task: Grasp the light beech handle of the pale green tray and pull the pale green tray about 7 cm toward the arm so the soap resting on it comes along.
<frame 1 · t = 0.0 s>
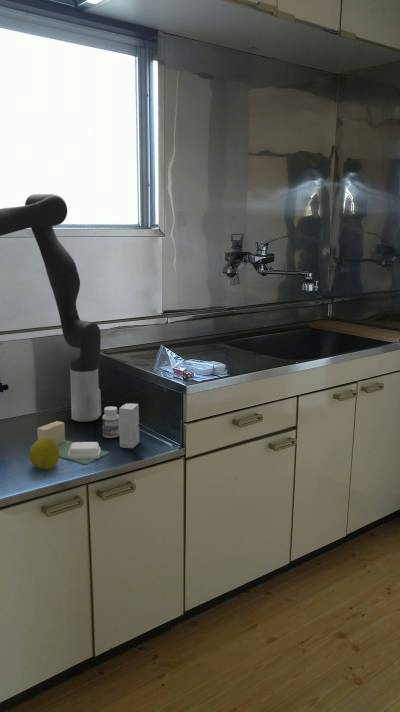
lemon: (45, 468, 162), on the counter
skincare box: (129, 445, 180), on the counter
soap: (84, 454, 171), resting on pale green tray
pill bottle: (111, 435, 187), on the counter
pale green tray: (71, 441, 173), point 3 cm above the counter, slide at 0.0 cm, touching soap
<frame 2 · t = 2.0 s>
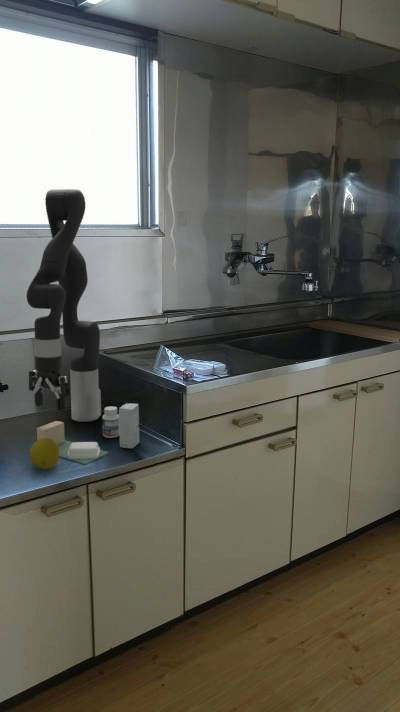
hand: (49, 407, 175), 12 cm above the counter, fingers open, 8 cm apart
nothing on the counter moved.
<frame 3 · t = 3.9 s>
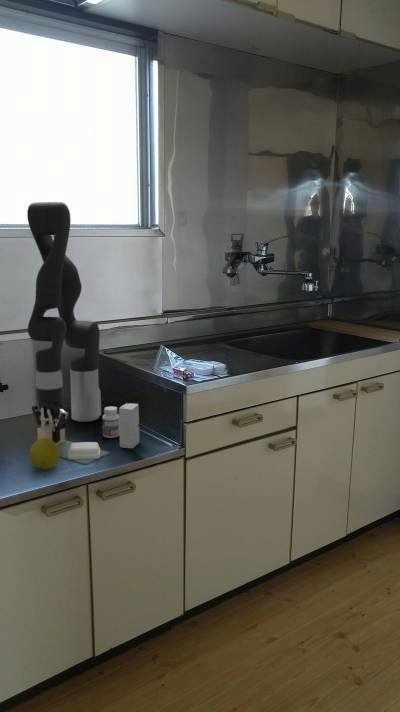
hand: (51, 440, 177), 2 cm above the counter, fingers closed on pale green tray, 3 cm apart
pale green tray: (71, 441, 173), point 3 cm above the counter, slide at 0.0 cm, touching gripper, soap
everything else where it was.
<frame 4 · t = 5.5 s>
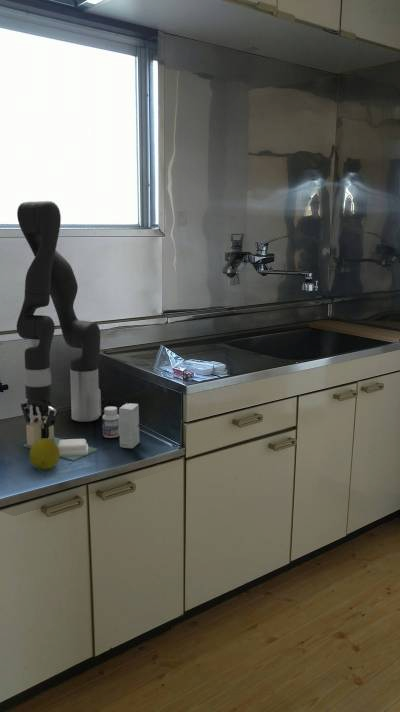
hand: (40, 437, 179), 2 cm above the counter, fingers closed on pale green tray, 3 cm apart
soap: (72, 451, 173), resting on pale green tray
pale green tray: (59, 438, 175), point 3 cm above the counter, slide at 4.6 cm, touching gripper, soap
everything else where it was.
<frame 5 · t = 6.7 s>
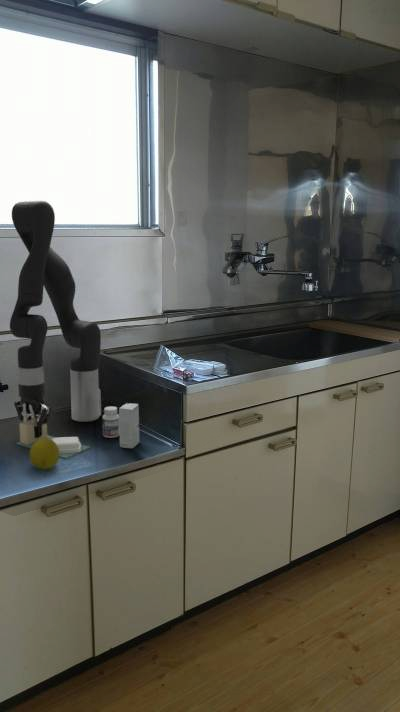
hand: (33, 435, 181), 2 cm above the counter, fingers closed on pale green tray, 3 cm apart
soap: (65, 449, 174), resting on pale green tray
pale green tray: (52, 436, 176), point 3 cm above the counter, slide at 7.5 cm, touching gripper, soap
everything else where it was.
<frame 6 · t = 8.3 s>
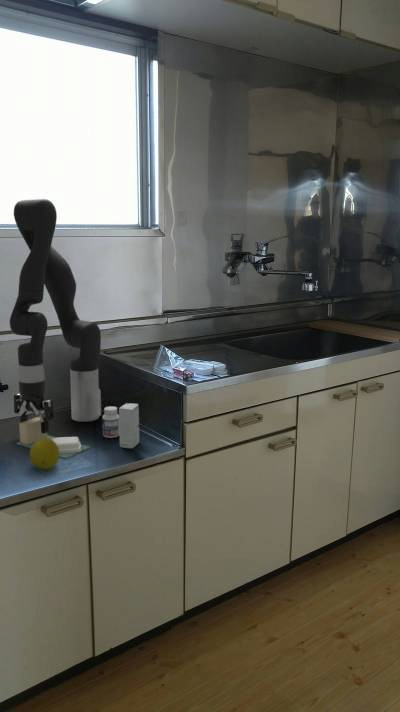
hand: (34, 430, 181), 3 cm above the counter, fingers open, 8 cm apart
pale green tray: (52, 436, 176), point 3 cm above the counter, slide at 7.5 cm, touching soap
everything else where it was.
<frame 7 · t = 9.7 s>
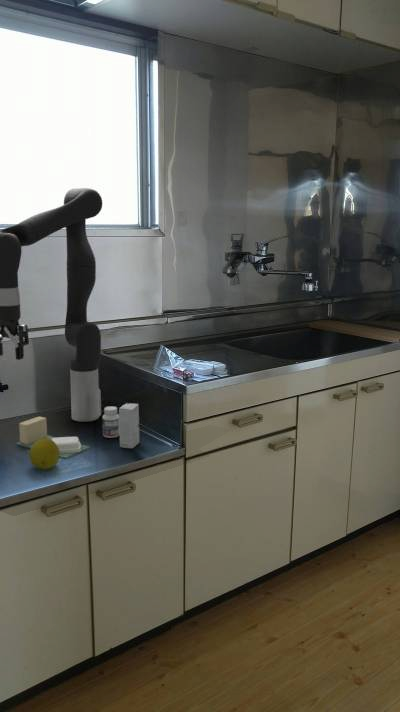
hand: (9, 357, 177), 26 cm above the counter, fingers open, 8 cm apart
nothing on the counter moved.
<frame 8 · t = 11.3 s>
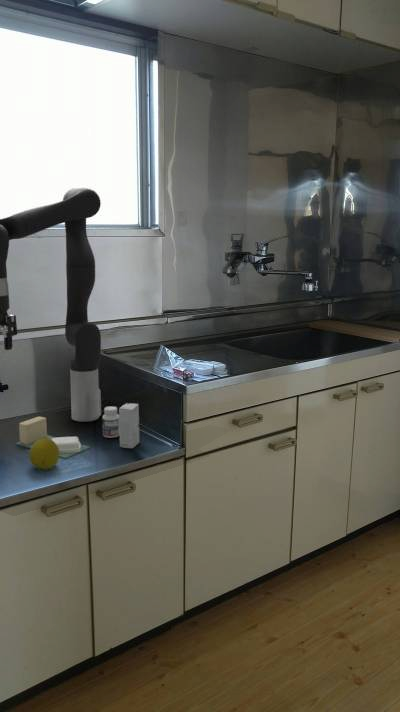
nothing on the counter moved.
at the end: pale green tray slide at 7.6 cm; soap inside the target area (0.8 cm from its centre), resting on pale green tray; soap touching pale green tray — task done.
